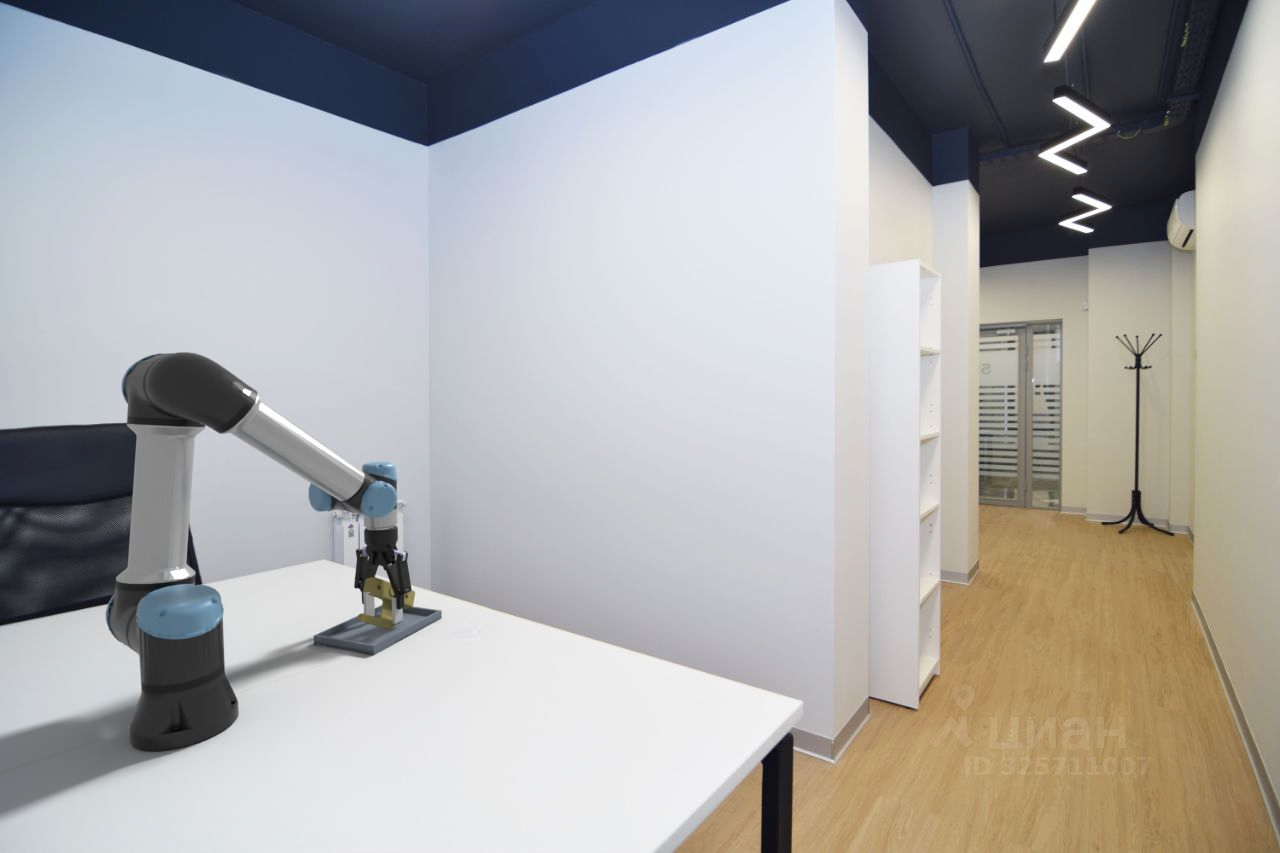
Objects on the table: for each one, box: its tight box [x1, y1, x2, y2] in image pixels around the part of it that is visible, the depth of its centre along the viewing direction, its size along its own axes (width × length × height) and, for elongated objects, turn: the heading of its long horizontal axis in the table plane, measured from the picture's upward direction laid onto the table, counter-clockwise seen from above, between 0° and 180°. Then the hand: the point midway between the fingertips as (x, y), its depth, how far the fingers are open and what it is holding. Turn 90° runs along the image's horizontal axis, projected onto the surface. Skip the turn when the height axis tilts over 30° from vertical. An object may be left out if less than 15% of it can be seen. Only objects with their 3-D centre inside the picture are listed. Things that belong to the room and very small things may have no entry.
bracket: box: [357, 576, 416, 629], centre depth 152 cm, size 10×14×10 cm
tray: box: [313, 604, 443, 656], centre depth 151 cm, size 23×17×2 cm
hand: (383, 619), depth 152 cm, fingers closed on bracket, 8 cm apart
